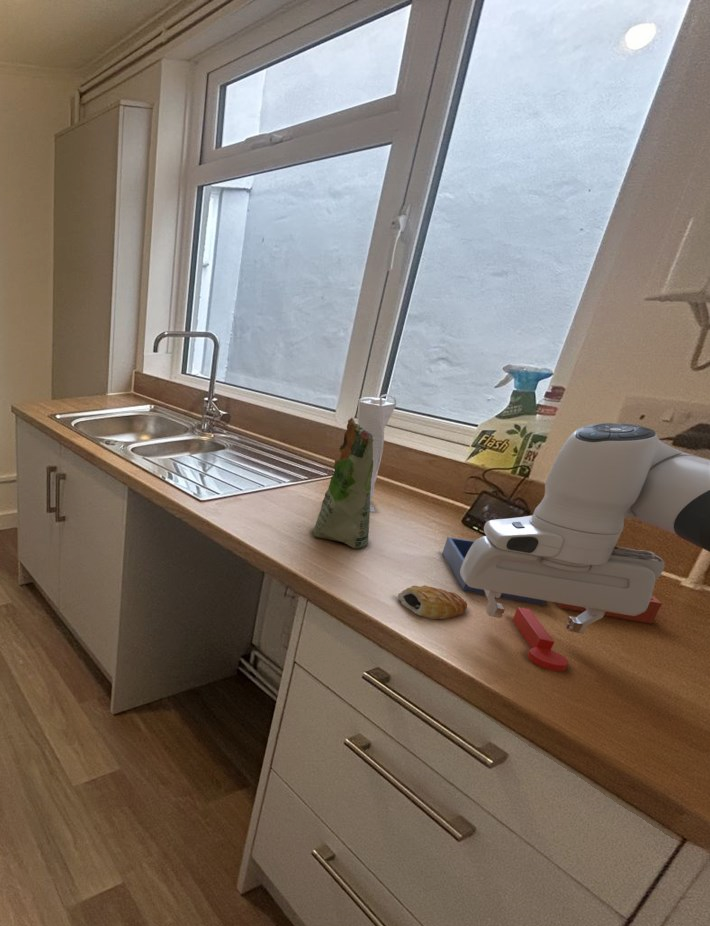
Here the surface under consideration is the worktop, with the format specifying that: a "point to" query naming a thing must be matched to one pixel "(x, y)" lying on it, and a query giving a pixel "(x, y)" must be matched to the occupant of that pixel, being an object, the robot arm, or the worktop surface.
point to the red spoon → (538, 641)
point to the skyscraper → (375, 428)
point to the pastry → (432, 602)
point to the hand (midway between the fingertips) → (532, 622)
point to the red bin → (643, 617)
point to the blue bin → (454, 557)
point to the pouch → (349, 491)
